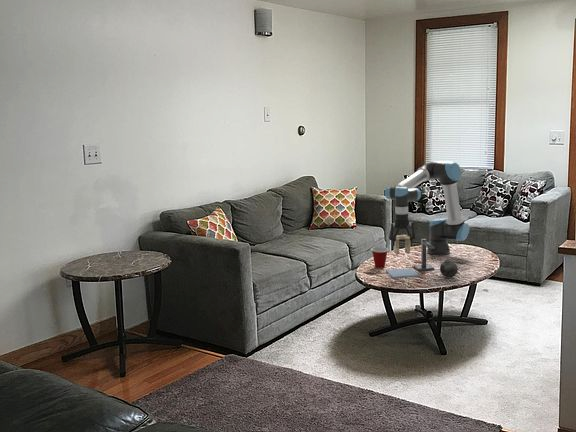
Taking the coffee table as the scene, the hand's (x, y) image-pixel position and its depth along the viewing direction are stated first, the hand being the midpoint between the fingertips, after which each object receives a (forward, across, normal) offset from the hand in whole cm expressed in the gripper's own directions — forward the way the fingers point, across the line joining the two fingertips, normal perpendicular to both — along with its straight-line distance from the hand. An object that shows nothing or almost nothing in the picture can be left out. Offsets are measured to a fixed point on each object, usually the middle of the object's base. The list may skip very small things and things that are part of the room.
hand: (402, 251), depth 374 cm
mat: (+14, 0, 0) cm, 14 cm away
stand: (+14, +16, +3) cm, 22 cm away
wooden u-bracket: (+1, 0, 0) cm, 1 cm away
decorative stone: (+14, +24, -13) cm, 31 cm away
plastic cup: (+14, -9, +19) cm, 26 cm away
